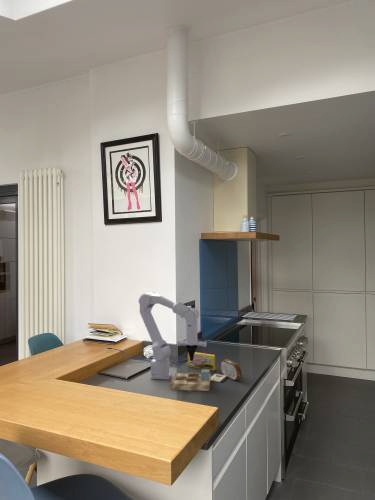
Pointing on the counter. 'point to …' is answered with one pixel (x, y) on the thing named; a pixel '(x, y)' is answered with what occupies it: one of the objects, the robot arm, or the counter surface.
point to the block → (205, 374)
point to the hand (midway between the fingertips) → (191, 360)
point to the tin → (231, 369)
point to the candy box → (202, 361)
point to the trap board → (189, 382)
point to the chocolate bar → (218, 376)
